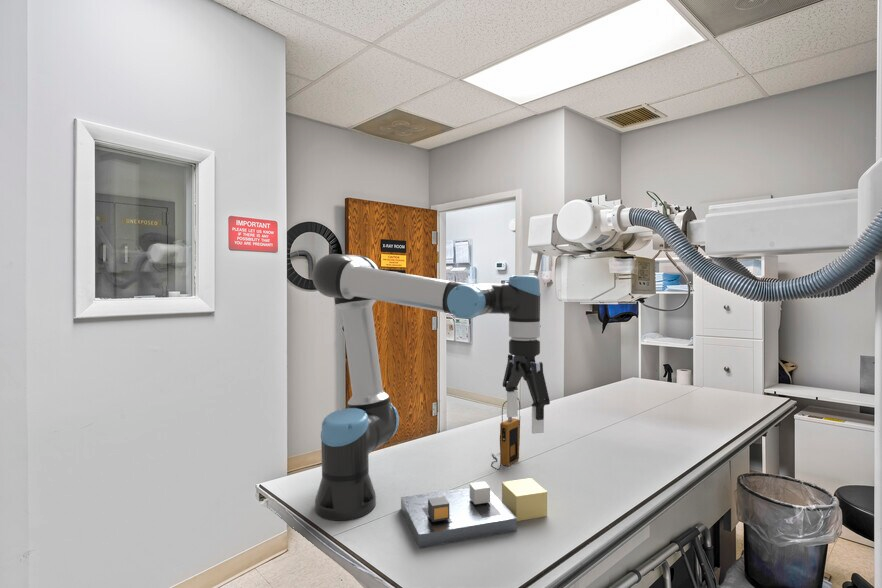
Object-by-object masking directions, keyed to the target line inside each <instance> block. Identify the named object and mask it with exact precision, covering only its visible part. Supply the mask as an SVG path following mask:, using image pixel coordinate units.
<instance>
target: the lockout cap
mask: <svg viewBox="0 0 882 588" xmlns="http://www.w3.org/2000/svg"><path fill="white" fill-rule="evenodd" d="M501 502H502V503H503V504H504V505H505V506H506V507H507V508H508V509H509V510H510V511H511V513H512V514H513V515H514V516H515V517H516V518H517V522H520V521H526V520H532V519H538V518H544V517H548V491H547V490H546V489H545V488H544V487H542V486H541V485H540V484H539V483H538V482H536V480H534V479H533V478H532V477H528V478H521V479H516V480H515V479H514V480H513V479H512V480H507V481H502V482H501Z"/></svg>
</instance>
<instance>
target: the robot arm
mask: <svg viewBox="0 0 882 588" xmlns="http://www.w3.org/2000/svg"><path fill="white" fill-rule="evenodd" d="M311 279H312V282H313V286H314V287H315V289H316V290H317V291H318V292H319V293H320V294H321V295H323V296H325V297H328V298H334V305H335V307H336V308H338V309H339V310H340V311H341V318H342V325H343V326H342V327H343V333H344V334H343V335H344V341H345V348H346V349H345V350H346V356H347V364H348V373H349V377H350V378H349V380H350V386H351V394H352V396H351V397H350V398H349V400H348V401H347V407H348V408H342V409H338V410H335V411H332V412H330V413H329V414H328V415H326V416H325V417H324V418H323V420H322V422H321V431H320V440H321V480H320V483H319V487H318V490H317V494H316V495H315V499H314V509H315V512H316V514H317V515H318V516H319V517H321V518H323V519H326V520H327V519H328V520H332V521H348V520H353V519H357V518H361V517H363V516H365V515H367V514H369V513H371V512H372V511H373V510H374V509H375V507H376V504H377V500H376V499H377V496H376V495H377V494H376V491H375V488H374V485H373V482H372V480H371V479H372V478H371V476H370V472H369V468H370V467H369V465H370V464H369V456H370V455H369V454H370V453H372V452H374V451H375V450H377V449H378V448H380V447H381V446H382V445H385V444H387V442H389V441H390V440H391V438H393V436H394V435H395V434H396V433H397V431H398V429H399V424H400V415H399V413H398V410H397V408H396V407H395V406H394V405H393V403H392V402H391V400H390V394H388V393H387V392H385V390H384V387H383V382H382V373H381V366H380V360H379V358H380V357H379V351H378V343H377V342H378V341H377V334H376V327H375V319H374V313H373V306H374V304H375V303H376V302H377V301H380V302H384V303H390V304H395V305H396V304H397V305H401V306H405V307H407V306H408V307H412V308H418V309H423V310H424V309H425V310H427V311H428V310H430V311H434V312H439V313H445V314H449V315H453V316H454V317H456V318H460V319H468V320H469V319H474V318H476V317H478V316H482V315H486V314H497V315H499V314H501V315H502V314H504V315H505V314H507V315H508V336H509V338H510V339H509V340H508V353H509V354H507V364H506V367H505V371H504V377H503V380H502V387H503V388H505V391H506V401H507V402H506V417H507V418H508V417H512V418H515V417H518V415H519V414H518V411H519V410H518V409H519V408H518V406H519V400H518V398H519V397H518V395H519V393H518V390H519V389H518V385H519V384H520V382H521V379H522V378H523V381H525V382H526V384H527V387H528V391H529V394H530V396H531V401H532V403H531V434H542V433H544V432H545V431H544V429H545V428H544V427H545V426H544V425H545V424H544V423H545V422H544V421H545V406H547V405H550V404H551V402H550V401H551V400H550V395H549V391H548V388H547V383H546V378H545V373H544V364H543V362H542V361H538V362H536V356H538V355H540V353H541V341H540V337H541V334H540V333H541V326H542V325H541V289H540V288H541V287H540V285H541V284H540V282H541V281H540V279H539V277H538V276H537V275H510V276H509V278H508V282H505V283H479V282H478V283H477V282H476V283H475V282H473V283H465V282H460V281H451V280H445V279H440V278H433V277H427V276H421V275H415V274H409V273H404V272H403V273H402V272H399V271H398V272H397V271H390V270H384V269H379V267H378V266H377V264H376V263H375V262H374V261H372V260H371V259H370V258H368V257H365V256H362V255H359V254H340V253H331V254H327V255H324V256H322V257H321V258H319V259H318V261H316V263H315V264H314V266H313V269H312V273H311Z"/></svg>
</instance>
